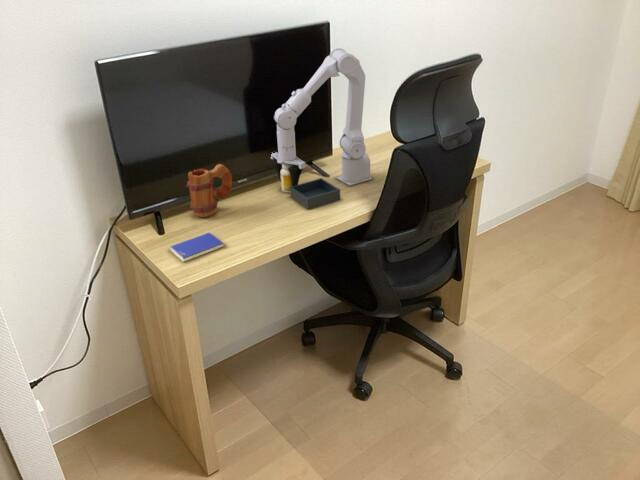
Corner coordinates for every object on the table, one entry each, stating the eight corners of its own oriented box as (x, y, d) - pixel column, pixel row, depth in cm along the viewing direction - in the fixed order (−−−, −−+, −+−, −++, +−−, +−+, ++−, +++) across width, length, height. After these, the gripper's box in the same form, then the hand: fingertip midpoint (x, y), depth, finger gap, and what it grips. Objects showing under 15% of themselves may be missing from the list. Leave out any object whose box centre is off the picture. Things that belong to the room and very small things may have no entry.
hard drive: (183, 257, 156) (222, 242, 163) (169, 245, 162) (208, 231, 169) (183, 262, 157) (223, 247, 164) (170, 250, 163) (209, 236, 169)
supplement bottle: (278, 189, 196) (276, 163, 191) (290, 184, 199) (289, 159, 194) (287, 194, 193) (286, 167, 188) (300, 189, 196) (299, 163, 191)
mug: (194, 222, 177) (187, 177, 170) (186, 212, 184) (179, 168, 176) (239, 211, 183) (234, 167, 175) (230, 201, 189) (225, 158, 182)
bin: (321, 188, 196) (321, 178, 194) (340, 199, 188) (340, 189, 186) (290, 197, 191) (290, 187, 189) (308, 209, 182) (307, 199, 181)
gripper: (262, 143, 190) (265, 181, 197) (293, 153, 181) (295, 192, 188) (277, 137, 194) (280, 174, 201) (309, 147, 186) (310, 185, 192)
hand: (288, 183), depth 195 cm, fingers closed on supplement bottle, 5 cm apart
